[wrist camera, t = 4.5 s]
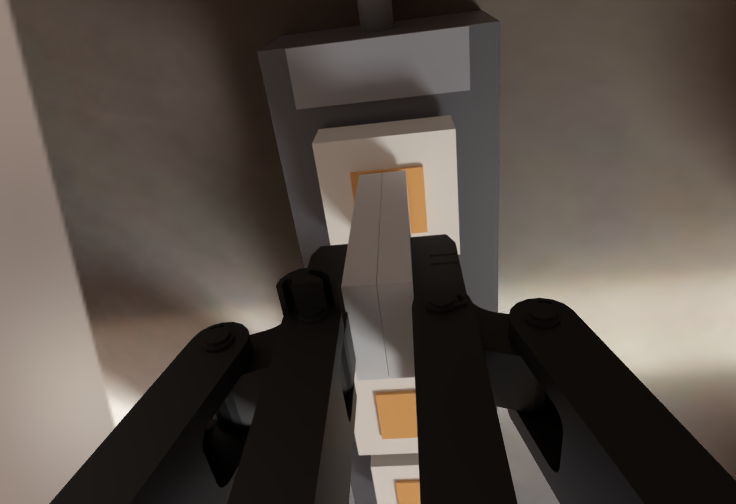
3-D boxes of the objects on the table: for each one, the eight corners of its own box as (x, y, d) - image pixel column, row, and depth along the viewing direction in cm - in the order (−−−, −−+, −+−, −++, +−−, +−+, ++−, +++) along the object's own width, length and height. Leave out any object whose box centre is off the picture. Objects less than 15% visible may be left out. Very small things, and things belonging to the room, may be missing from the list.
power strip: (263, -51, 19) (232, -52, 15) (480, -83, 18) (502, -92, 14) (362, 459, 33) (358, 520, 30) (485, 454, 32) (496, 517, 29)
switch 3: (374, 382, 29) (370, 469, 24) (455, 377, 29) (468, 465, 24) (383, 436, 31) (381, 526, 26) (458, 433, 31) (470, 524, 26)
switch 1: (330, 101, 21) (311, 145, 16) (441, 88, 21) (456, 130, 16) (346, 201, 23) (333, 266, 19) (446, 192, 23) (460, 256, 18)
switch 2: (353, 286, 23) (341, 375, 18) (453, 279, 23) (470, 368, 18) (365, 361, 26) (358, 458, 21) (457, 356, 25) (472, 454, 20)
